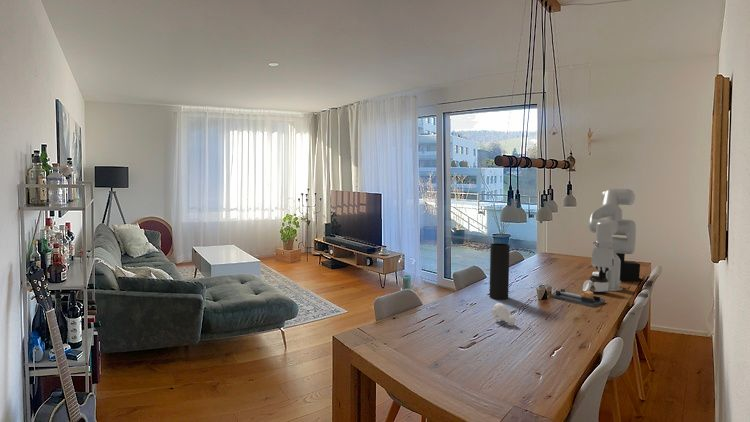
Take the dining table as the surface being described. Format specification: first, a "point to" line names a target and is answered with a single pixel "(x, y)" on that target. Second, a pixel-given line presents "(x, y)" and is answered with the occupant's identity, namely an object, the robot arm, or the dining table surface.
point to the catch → (587, 294)
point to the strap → (570, 294)
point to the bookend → (629, 269)
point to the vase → (499, 271)
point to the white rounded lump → (502, 314)
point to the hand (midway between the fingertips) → (602, 279)
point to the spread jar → (596, 284)
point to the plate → (578, 299)
